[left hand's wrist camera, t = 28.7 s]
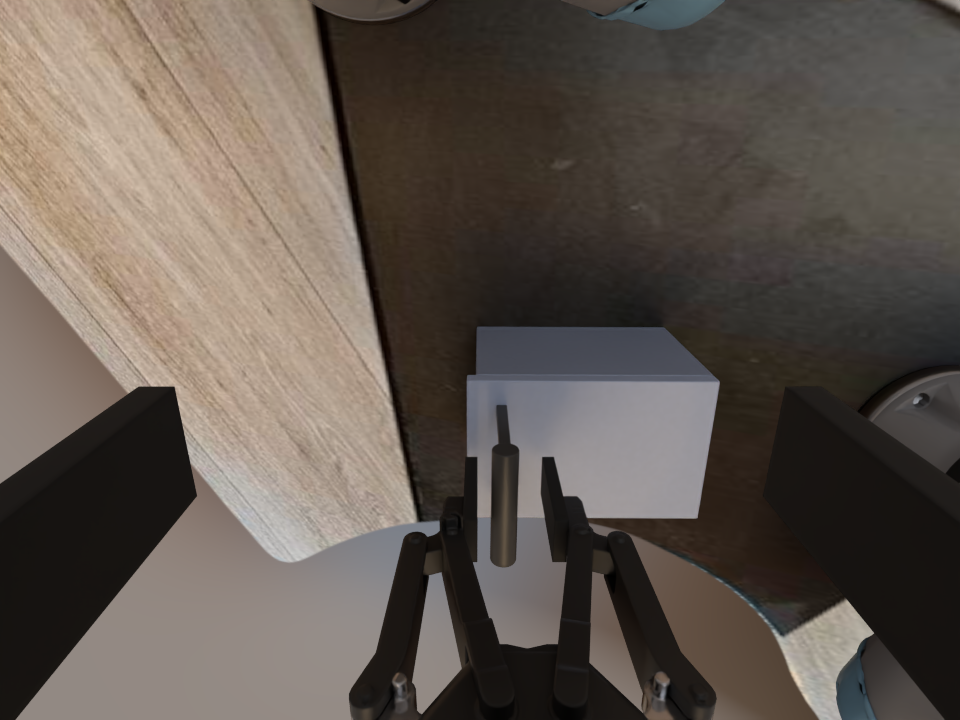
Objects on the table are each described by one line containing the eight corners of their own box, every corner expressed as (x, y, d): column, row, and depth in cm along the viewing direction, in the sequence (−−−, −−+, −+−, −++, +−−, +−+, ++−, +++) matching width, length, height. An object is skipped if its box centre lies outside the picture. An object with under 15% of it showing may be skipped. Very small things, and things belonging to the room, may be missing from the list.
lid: (467, 509, 42) (464, 588, 34) (467, 374, 38) (463, 430, 31) (692, 509, 42) (739, 589, 34) (714, 375, 38) (772, 431, 31)
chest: (476, 437, 52) (475, 508, 42) (476, 326, 48) (475, 374, 38) (650, 438, 52) (692, 509, 42) (664, 326, 48) (714, 375, 38)
